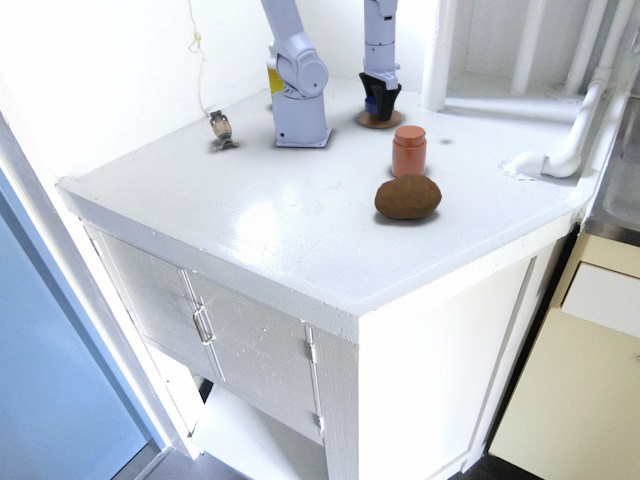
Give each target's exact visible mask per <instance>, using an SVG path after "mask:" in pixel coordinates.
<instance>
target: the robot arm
mask: <svg viewBox="0 0 640 480" xmlns="http://www.w3.org/2000/svg"><path fill="white" fill-rule="evenodd" d="M259 1H260V3H261V6H262V8H263V12H264V14H265V17H266V19H267V22H268V25H269V27H270V31H271V33H272V35H273V39H274V40H273V41H274V43H273V49H274V52H275V57H276V63H275V67H276V72H277V74H278V76H279V77H280V78H281V79H282V80H283V81H284V87H283V91H276V92H275V93H274V95H273V100H272V99H271V111H272V117H273V124H274V131H275V138H276V142H275V143H276V146H277V147H288V148H289V147H291V148H292V147H293V148H294V147H296V148H298V147H299V148H325V147H326V145H327V144H328V140H329V138H330V136H331V133H332V131H333V130H332V128H331V127H327V121H326V108H325V95H324V90H325V88H326V86H327V84H328V81H329V70H328V67H327V65H326V63H325V62H324V61H323V60H322V59H321V58H320V57H319V55H318V54H319V53H318V52H317V49H316V47H315V44H314V43H313V41H312V40H311V39H310V37H309V35H308V34H307V32H306V31H305V27H304V24H303V22H302V19H301V15H300V11H299V9H298V6H297V3H296V0H259ZM398 3H399V0H363V27H364V28H363V30H364V31H363V34H364V35H363V36H364V43H363V44H364V56H363V57H362V59H363V62H362V63H363V67H362V68H363V72H359V73H358V76H359V79H360V81H361V83H362V85H363V88H364V92H365V98H366V97H368V96H371V95H375V98H376V102H377V109H378V116H379V120H380V121H381V122H383V121H389V120H390V119H391V115H392V111H393V107H394V108H395V105H396V100H397V98H398V97H399V94H400V93H401V91H402V90H403V85H402V84H401V83H400V82H399V77H398V75H397V71H399V70H400V69H401V65H400V64H399V62H396V61H395V60H396V25H397V24H396V23H397V22H396V21H397V11H398ZM394 104H395V105H394Z"/></svg>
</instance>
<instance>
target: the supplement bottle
mask: <svg viewBox="0 0 640 480" xmlns="http://www.w3.org/2000/svg"><path fill="white" fill-rule="evenodd" d="M273 43H274V40H272V41H269V43H268V50H269V53H270V55H269V56H268V58H267V59H266V62H265V63H266V69H267V76H268V83H269V90H270V97H271V101H272V100H273V95H274V93H275V92H276V91H283V87H284V81H283V80H282V79H281V78H280V77H279V76H278V74H277V72H276V67H275V63H276V57H275V52H274V49H273Z"/></svg>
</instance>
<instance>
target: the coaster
mask: <svg viewBox="0 0 640 480" xmlns="http://www.w3.org/2000/svg"><path fill="white" fill-rule="evenodd" d="M402 119H403V117H402V114H401V112H399V111H398V110H395V109H394V111H393V112H392V115H391V119H390V120H389V121H383V122H381V121H380V120H379V116H378V115H374V114H370V113H368V112H366V111H365V110H364V111H362V112H360V113H359V114H358V115H357V122H358V123H359V124H360V125H361V126H363V127H365V128H370V129H387V128H392V127H395V126H397V125H399V124H400V123H401V122H402Z"/></svg>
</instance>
